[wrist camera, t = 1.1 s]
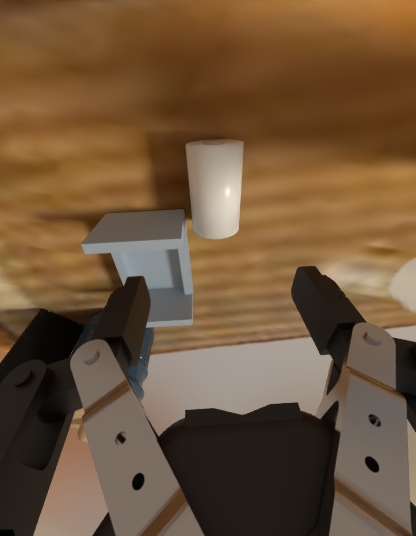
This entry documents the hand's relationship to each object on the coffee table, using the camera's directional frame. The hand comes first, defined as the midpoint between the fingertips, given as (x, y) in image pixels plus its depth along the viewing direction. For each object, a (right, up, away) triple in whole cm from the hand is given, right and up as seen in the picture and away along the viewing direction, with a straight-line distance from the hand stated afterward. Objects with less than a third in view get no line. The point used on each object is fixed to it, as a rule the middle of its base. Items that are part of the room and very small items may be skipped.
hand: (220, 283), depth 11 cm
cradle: (-8, +3, +20) cm, 22 cm away
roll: (-1, +11, +14) cm, 18 cm away
